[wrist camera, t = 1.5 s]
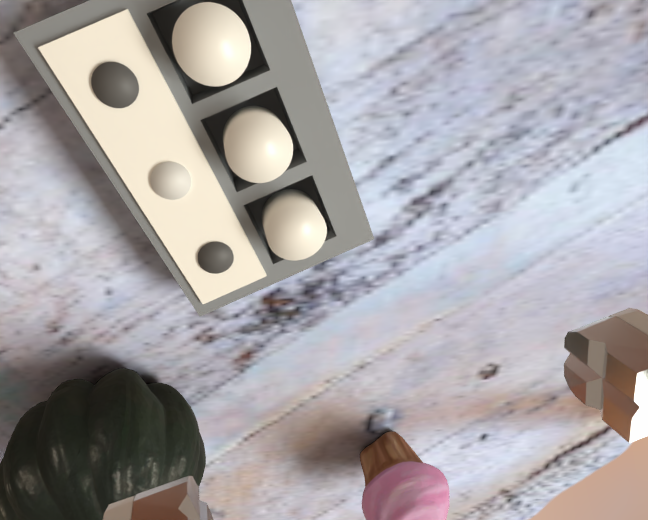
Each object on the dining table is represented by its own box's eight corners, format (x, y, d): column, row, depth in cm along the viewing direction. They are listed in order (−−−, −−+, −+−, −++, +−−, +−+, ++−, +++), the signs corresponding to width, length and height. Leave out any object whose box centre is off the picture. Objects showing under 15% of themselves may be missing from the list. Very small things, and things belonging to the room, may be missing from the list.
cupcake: (392, 406, 49) (433, 490, 41) (435, 439, 54) (479, 521, 45) (330, 455, 51) (357, 546, 42) (377, 484, 55) (409, 571, 47)
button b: (270, 95, 29) (277, 104, 26) (294, 153, 31) (302, 166, 28) (211, 121, 29) (212, 132, 26) (239, 177, 31) (242, 193, 28)
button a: (227, -10, 26) (230, -11, 23) (257, 63, 28) (263, 68, 25) (161, 19, 26) (157, 20, 23) (196, 89, 28) (195, 98, 25)
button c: (305, 179, 32) (314, 194, 30) (324, 227, 34) (335, 245, 32) (251, 203, 32) (256, 220, 29) (274, 249, 34) (280, 269, 31)
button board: (256, -65, 27) (265, -76, 24) (358, 217, 38) (376, 241, 34) (36, 29, 27) (10, 33, 23) (199, 288, 38) (199, 320, 34)
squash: (-76, 419, 31) (-39, 672, 27) (136, 331, 33) (204, 559, 28) (51, 415, 45) (89, 583, 40) (197, 353, 46) (249, 510, 42)
